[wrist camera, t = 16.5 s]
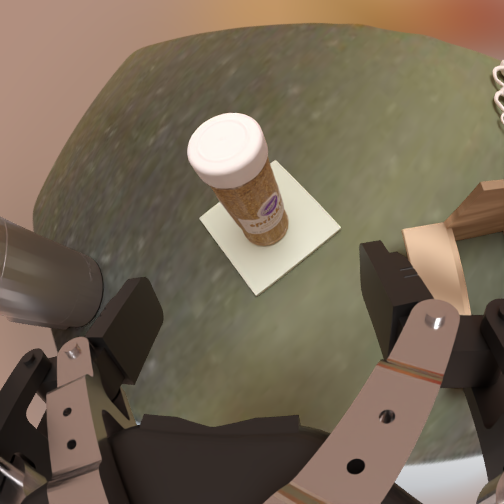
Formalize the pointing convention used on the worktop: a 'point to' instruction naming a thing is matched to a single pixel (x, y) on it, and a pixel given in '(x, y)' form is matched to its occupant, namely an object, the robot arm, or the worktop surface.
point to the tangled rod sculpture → (503, 91)
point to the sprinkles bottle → (240, 175)
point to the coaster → (283, 251)
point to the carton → (454, 243)
